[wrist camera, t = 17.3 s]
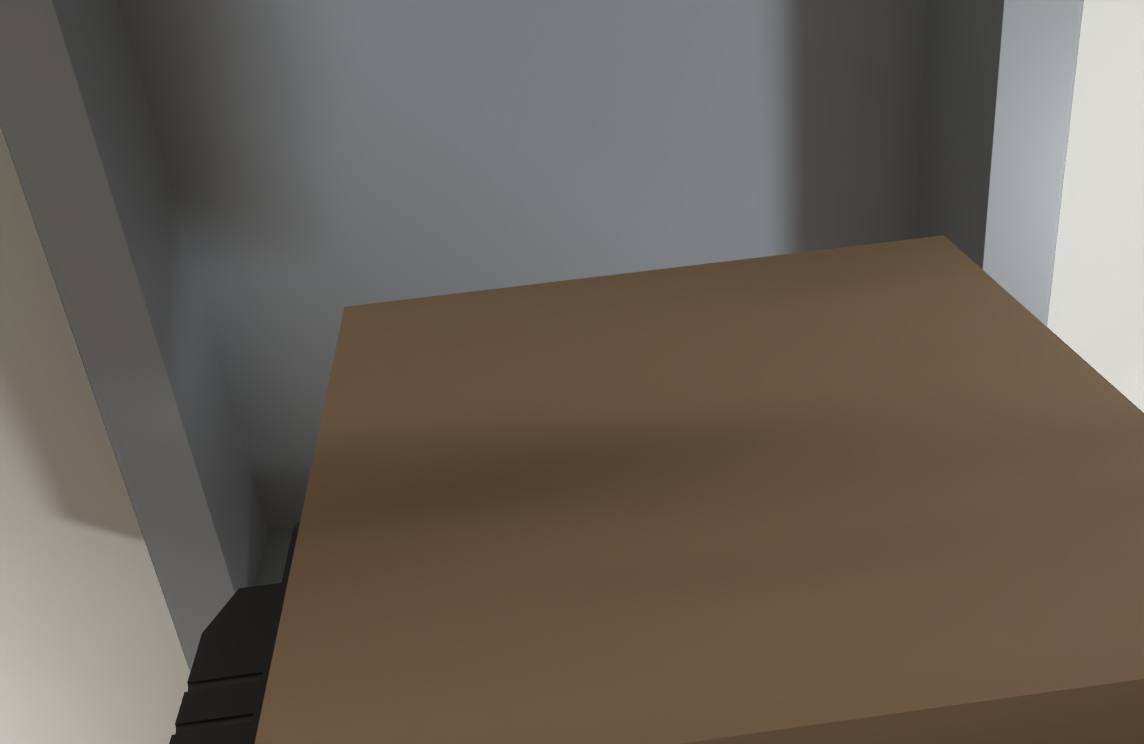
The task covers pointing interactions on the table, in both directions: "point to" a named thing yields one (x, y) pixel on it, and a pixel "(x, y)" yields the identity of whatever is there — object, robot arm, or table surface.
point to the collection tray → (472, 189)
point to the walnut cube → (718, 516)
